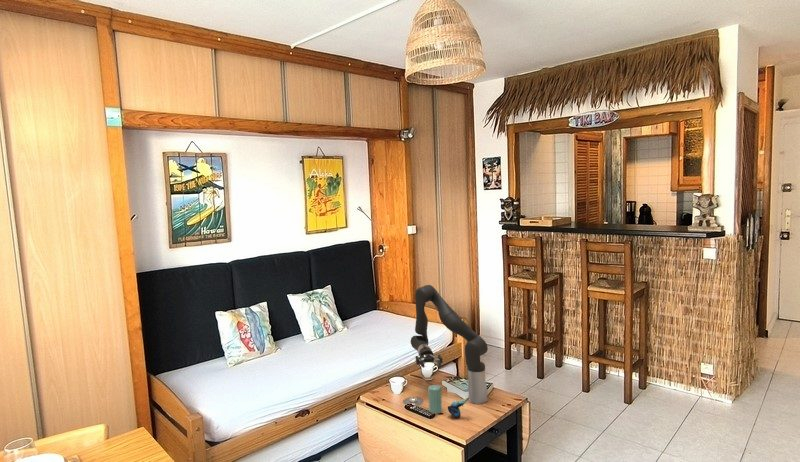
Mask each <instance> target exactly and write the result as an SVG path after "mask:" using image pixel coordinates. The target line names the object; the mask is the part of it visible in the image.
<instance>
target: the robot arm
mask: <svg viewBox="0 0 800 462" xmlns="http://www.w3.org/2000/svg"><path fill="white" fill-rule="evenodd" d="M414 299H415V313H416V317H415V327H414V333H416V334H417V335H413V336H412V337H411V338H410V345H411V347H412V348H413V349H414V350H415V351H417V355H415V364H416V365H420V366H421V367H422V368H423V369H425V364H426V363H432V364H437V366H438V367H439V368H440V367H441V366H442V364H443V362H444V361H443V360H444V359H443V357H442V356H441V354H437V355H435V354H434V352H433V351H432V349H431V347H430V346H429V337H428V324H429V319H428V316H427V314H426V312H425V306H426V303H428V302H431V303H432V304H433V305H434V306H435V308H436V310H437V312H438V316H439V317H438V318H439V319H440V321H441V323H442V324H443V326H445V327H446V329H448V330H449V332H452V333H454V334H456V335H458V336H461V337H462V338H463V339H465V341H466V342H465V343H466V344H465V346H464V357H465V365H466V367H467V382H468V383H467V387H468V389H467V391H468V402H469V403H471V404H475V405H482V404H484V403H487V402H488V385H487V383H486V365H485V363H484V362H483V361H481V357H482V356H483V355H485V354H486V353H487V352H488V348H489V347H488V345H487V343H486V341H485V339H483V338H482V336H480V335H479V334H478V333H476V332H475V331H474V330H473V329H472V328H471V327H470V326H469V325H468V324H467V323H466V322H465V321H464V320H463V319H462V318H461V317H460V315H459V314H458V313H457V312H456V311H455V310H454V309H452V307H451V306H450V305H449V304H448V303H447V302H446V301H445V299H443V297H442V296H441V295H440V293H439V292H438V291H437V289H436V288H435V287H434V286H432V285H431V284H426V285H423V286H421V287H418V288H417V289H416V290H415V294H414Z"/></svg>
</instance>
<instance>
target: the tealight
mask: <svg viewBox="0 0 800 462" xmlns="http://www.w3.org/2000/svg"><path fill="white" fill-rule="evenodd" d="M410 397H411V398H410V402H411V403H416V402H417V398H416V397H417V396H410Z"/></svg>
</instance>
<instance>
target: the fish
mask: <svg viewBox="0 0 800 462" xmlns="http://www.w3.org/2000/svg"><path fill="white" fill-rule="evenodd" d="M467 401H469V398H464V399H461V400H457V399H456V400H454V401H453V402H451V404H450V405H448V406H447V410H448V413H449V414H450V415H451V416H452V417H454V418H455V419H460V417H461V409H460V407H464V405H466V403H467Z"/></svg>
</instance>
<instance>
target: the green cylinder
mask: <svg viewBox="0 0 800 462" xmlns="http://www.w3.org/2000/svg"><path fill="white" fill-rule="evenodd" d="M427 388H428V389H427V390H428V408H429V409H428V411H429V413H430V412H431V413H430V414H434V415H438V414H440V413H442V412H443V408H442V407H443V404H442V386H441V385H438V384H431V385H429V386H428V387H427Z"/></svg>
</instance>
